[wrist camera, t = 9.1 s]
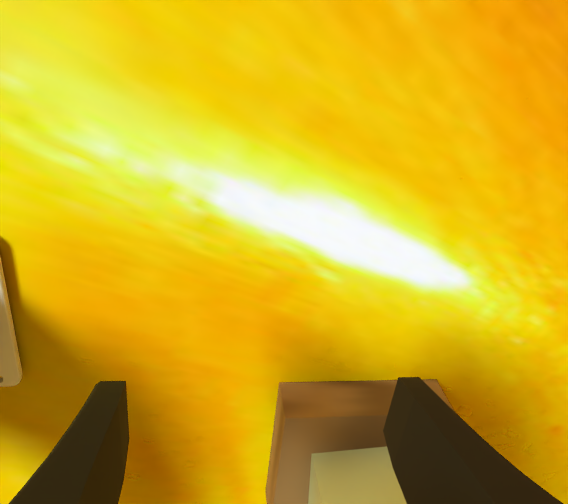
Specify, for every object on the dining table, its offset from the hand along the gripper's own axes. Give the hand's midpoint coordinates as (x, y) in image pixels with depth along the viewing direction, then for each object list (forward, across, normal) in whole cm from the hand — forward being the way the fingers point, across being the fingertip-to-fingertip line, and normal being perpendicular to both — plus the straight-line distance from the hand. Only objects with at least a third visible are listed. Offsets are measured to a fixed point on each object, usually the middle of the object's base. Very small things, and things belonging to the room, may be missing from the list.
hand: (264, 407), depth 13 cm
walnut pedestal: (+10, -7, +13) cm, 18 cm away
